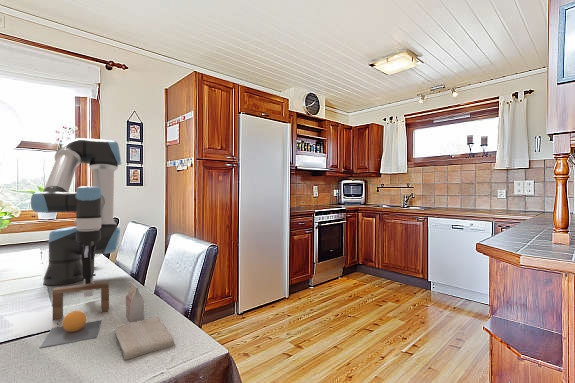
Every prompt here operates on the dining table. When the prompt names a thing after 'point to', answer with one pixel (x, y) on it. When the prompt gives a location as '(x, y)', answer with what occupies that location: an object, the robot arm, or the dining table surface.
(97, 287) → the bridge
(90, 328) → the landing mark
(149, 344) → the washcloth
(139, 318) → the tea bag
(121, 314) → the dining table surface
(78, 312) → the ball
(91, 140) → the robot arm
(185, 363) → the dining table surface
